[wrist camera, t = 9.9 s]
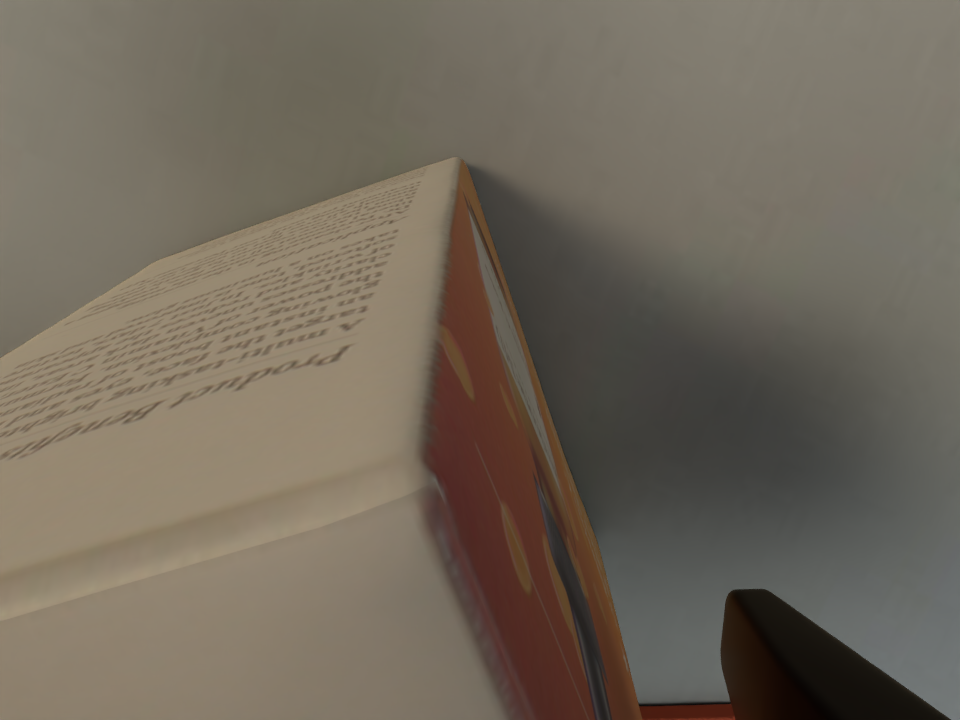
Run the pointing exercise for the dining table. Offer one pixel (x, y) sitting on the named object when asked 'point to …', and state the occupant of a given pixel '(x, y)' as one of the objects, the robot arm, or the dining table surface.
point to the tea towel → (688, 712)
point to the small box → (301, 487)
